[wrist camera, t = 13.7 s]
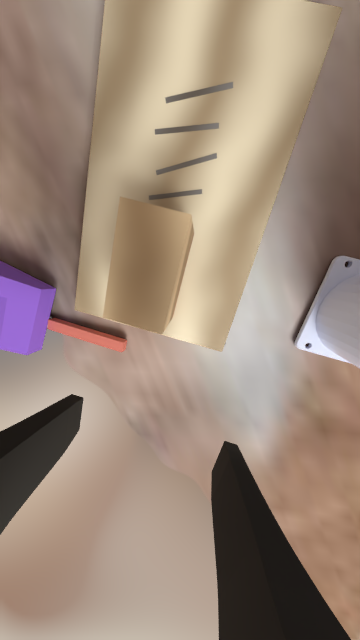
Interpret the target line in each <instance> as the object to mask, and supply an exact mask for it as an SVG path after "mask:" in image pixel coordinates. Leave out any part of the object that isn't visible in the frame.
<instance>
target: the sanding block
mask: <svg viewBox="0 0 360 640" xmlns="http://www.w3.org/2000/svg"><path fill="white" fill-rule="evenodd" d="M193 236H194V228H193V222H192V215H191V214H188V213H184V212H180V211H176V210H172V209H168V208H164V207H160V206H156V205H152V204H148V203H144V202H140V201H136V200H132V199H128V198H124V197H120V200H119V207H118V214H117V221H116V228H115V235H114V241H113V248H112V255H111V262H110V269H109V276H108V283H107V290H106V297H105V304H104V311H103V318H106V319H110V320H113V321H117V322H120V323H124V324H127V325H131V326H134V327H138V328H141V329H145V330H148V331H152V332H155V333H159V334H163V332H164V331H165V329H166V328H167V326H168V324H169V323H170V321H171V320H172V318H173V315H174V311H175V307H176V303H177V299H178V295H179V291H180V287H181V283H182V280H183V276H184V272H185V268H186V264H187V260H188V256H189V252H190V248H191V244H192V240H193Z"/></svg>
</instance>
